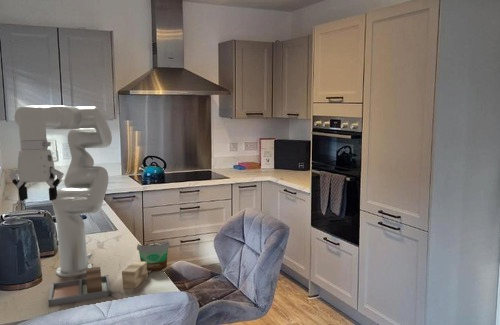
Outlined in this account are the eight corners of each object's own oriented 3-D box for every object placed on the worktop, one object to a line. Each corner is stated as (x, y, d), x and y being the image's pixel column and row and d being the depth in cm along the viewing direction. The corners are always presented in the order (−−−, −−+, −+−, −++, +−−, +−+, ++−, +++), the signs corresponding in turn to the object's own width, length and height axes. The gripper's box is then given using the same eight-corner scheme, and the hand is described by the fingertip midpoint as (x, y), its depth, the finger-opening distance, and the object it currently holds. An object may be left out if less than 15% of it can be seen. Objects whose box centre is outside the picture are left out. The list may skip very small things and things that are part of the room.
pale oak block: (136, 277, 162) (135, 261, 161) (147, 277, 161) (146, 261, 161) (122, 288, 152) (121, 271, 152) (135, 289, 152) (134, 272, 151)
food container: (140, 275, 164) (139, 248, 163) (137, 269, 170) (136, 243, 168) (174, 269, 169) (172, 243, 167) (170, 264, 174) (169, 239, 173)
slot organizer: (52, 288, 153) (51, 283, 153) (108, 280, 159) (108, 275, 159) (48, 306, 140) (48, 300, 139) (110, 296, 146) (110, 290, 145)
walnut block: (87, 285, 155) (86, 268, 154) (101, 283, 156) (100, 266, 156) (87, 296, 145) (86, 278, 145) (102, 294, 147) (101, 276, 146)
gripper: (66, 144, 143) (70, 197, 146) (14, 145, 145) (19, 197, 147) (54, 146, 136) (58, 202, 138) (0, 147, 138) (5, 202, 140)
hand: (38, 199), depth 143 cm, fingers open, 9 cm apart
